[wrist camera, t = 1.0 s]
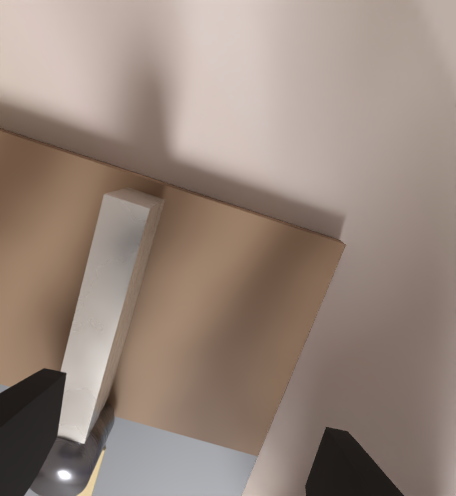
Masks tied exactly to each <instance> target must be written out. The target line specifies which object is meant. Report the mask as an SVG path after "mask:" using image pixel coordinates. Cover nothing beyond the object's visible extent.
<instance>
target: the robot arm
mask: <svg viewBox="0 0 456 496" xmlns="http://www.w3.org/2000/svg"><path fill="white" fill-rule="evenodd" d="M66 374H67V373H65V372H61V371H56V370H51V369H46V368H43V369H41V370H40V371H38V372H36V373H34V374H32V375H31V376H29V377H27V378H25V379H24V380H22V381H20V382H18V383H17V384H15V385H13V386H11V387H10V388H8V389H6V390H4V391H3V392H1V393H0V496H24V495H25V494H26V492H27V491H28V489H29V488H30V486H31V485H32V483H33V481H34V480H35V478H36V477H37V475H38V473H39V471H40V469H41V468H42V466H43V464H44V462H45V460H46V458H47V456H48V454H49V452H50V450H51V448H52V446H53V444H54V442H55V440H56V438H57V435H58V429H59V422H60V415H61V408H62V401H63V395H64V388H65V381H66ZM305 488H306V496H404V495H403V494H402V493H401V492H400V491H399V489H398V488H397V487H396V486H395V485H394V484H393V483H392V481H391V480H390V479H389V478H388V477H387V476H386V475H385V473H384V472H383V471H382V470H381V469H380V468H379V466H378V465H377V464H376V463H375V462H374V461H373V459H372V458H371V457H370V456H369V455H368V454H367V453H366V451H365V450H364V449H363V448H362V447H361V446H360V445H359V443H358V442H357V441H356V440H355V439H354V438H353V437H352V436H351V435H350V434H349V433H348V432H347V431H343V430H338V429H333V428H329V427H326V429H325V432H324V434H323V437H322V440H321V443H320V446H319V449H318V452H317V454H316V457H315V460H314V463H313V466H312V469H311V471H310V474H309V477H308V480H307V483H306V486H305Z"/></svg>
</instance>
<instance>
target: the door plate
mask: <svg viewBox="0 0 456 496" xmlns="http://www.w3.org/2000/svg"><path fill="white" fill-rule="evenodd" d="M8 388H10V387H9V386H5V385H1V384H0V393H1V392H3V391H4V390H6V389H8ZM257 457H258V456H254V455H251V454H247V453H244V452H240V451H236V450H233V449H229V448H226V447H222V446H219V445H215V444H212V443H208V442H204V441H201V440H197V439H194V438H190V437H187V436H183V435H179V434H176V433H172V432H169V431H165V430H162V429H158V428H155V427H151V426H147V425H144V424H140V423H137V422H133V421H130V420H126V419H122V418H119V417H115V421H114V425H113V428H112V430H111V432H110V434H109V437H108V439H107V441H106V443H105V446H104V448H103V450H102V452H101V455H100V457H99V459H98V462H97V464H96V466H95V468H94V471H93V473H92V475H91V477H90V480H89V482H88V484H87V486H86V488H85V489H84V490H83V491H82V492H81V493H80V494H78V495H77V496H242V493H243V491H244V488H245V486H246V484H247V481H248V479H249V476H250V474H251V472H252V469H253V467H254V464H255V462H256V459H257ZM24 496H40V495H38V494H36V493H35V492H33V491H32V490H31V489H30V488H29V489H28V491H27V492H26V494H25V495H24Z"/></svg>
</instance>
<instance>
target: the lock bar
mask: <svg viewBox="0 0 456 496" xmlns="http://www.w3.org/2000/svg"><path fill="white" fill-rule="evenodd" d="M164 202H165V199H162V198H159V197H156V196H153V195H150V194H147V193H144V192H141V191H138V190H135V189H131V188H125V189H121V190H117V191H113V192H109V193H106V194H104V196H103V200H102V205H101V209H100V213H99V217H98V221H97V225H96V229H95V233H94V237H93V241H92V245H91V249H90V253H89V257H88V262H87V266H86V270H85V274H84V278H83V282H82V286H81V290H80V294H79V298H78V302H77V306H76V310H75V314H74V318H73V323H72V327H71V331H70V335H69V339H68V343H67V347H66V351H65V355H64V359H63V363H62V367H61V372H65V373H67V374H66V381H65V388H64V395H63V401H62V408H61V415H60V422H59V429H58V435H57V438H56V440H55V442H54V444H53V446H52V448H51V450H50V452H49V454H48V456H47V458H46V460H45V462H44V464H43V466H42V468H41V469H40V471H39V473H38V475H37V477H36V478H35V480H34V481H33V483H32V485H31V486H30V489H31V490H32V491H33V492H35V493H36V494H38V495H40V496H77V495H78V494H80V493H81V492H82V491H83V490H84V489H85V488H86V486H87V484H88V482H89V480H90V477H91V475H92V473H93V471H94V468H95V466H96V464H97V462H98V459H99V457H100V455H101V452H102V450H103V448H104V446H105V443H106V441H107V439H108V437H109V434H110V432H111V430H112V428H113V425H114V421H115V415H114V411H113V408H112V407H111V405H110V404H109V402H108V401H107V399H108V397H109V394H110V390H111V387H112V383H113V380H114V377H115V373H116V370H117V366H118V363H119V359H120V356H121V352H122V349H123V345H124V342H125V338H126V335H127V331H128V328H129V324H130V321H131V317H132V314H133V310H134V307H135V303H136V300H137V296H138V293H139V289H140V286H141V282H142V279H143V275H144V272H145V268H146V265H147V261H148V258H149V254H150V251H151V247H152V244H153V240H154V237H155V233H156V230H157V226H158V223H159V219H160V216H161V212H162V209H163V205H164Z"/></svg>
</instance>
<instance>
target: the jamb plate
mask: <svg viewBox="0 0 456 496" xmlns="http://www.w3.org/2000/svg"><path fill="white" fill-rule="evenodd" d="M125 188H131V189H135V190H138V191H141V192H144V193H147V194H150V195H153V196H156V197H159V198H162V199H165V202H164V205H163V209H162V212H161V216H160V219H159V223H158V226H157V230H156V233H155V237H154V240H153V244H152V247H151V251H150V254H149V258H148V261H147V265H146V268H145V272H144V275H143V279H142V282H141V286H140V289H139V293H138V296H137V300H136V303H135V307H134V310H133V314H132V317H131V321H130V324H129V328H128V331H127V335H126V338H125V342H124V345H123V349H122V352H121V356H120V359H119V363H118V366H117V370H116V373H115V377H114V380H113V383H112V387H111V390H110V394H109V397H108V399H107V401H108V402H109V404H110V405H111V407H112V408H113V411H114V415H115V417H119V418H122V419H126V420H130V421H133V422H137V423H140V424H144V425H147V426H151V427H155V428H158V429H162V430H165V431H169V432H172V433H176V434H179V435H183V436H187V437H190V438H194V439H197V440H201V441H204V442H208V443H212V444H215V445H219V446H222V447H226V448H229V449H233V450H236V451H240V452H244V453H247V454H251V455H254V456H258V455H259V452H260V450H261V447H262V445H263V443H264V440H265V438H266V435H267V433H268V431H269V428H270V426H271V423H272V421H273V419H274V416H275V414H276V411H277V409H278V407H279V404H280V402H281V399H282V397H283V395H284V392H285V390H286V387H287V385H288V383H289V380H290V378H291V375H292V373H293V371H294V368H295V366H296V363H297V361H298V359H299V356H300V354H301V351H302V349H303V347H304V344H305V342H306V339H307V337H308V335H309V332H310V330H311V327H312V325H313V323H314V320H315V318H316V315H317V313H318V311H319V308H320V306H321V303H322V301H323V299H324V296H325V294H326V291H327V289H328V287H329V284H330V282H331V279H332V277H333V274H334V272H335V270H336V267H337V265H338V262H339V260H340V258H341V255H342V253H343V250H344V248H345V246H346V244H344V243H343V242H341V241H340V240H338V239H335V238H332V237H329V236H326V235H323V234H320V233H317V232H314V231H311V230H308V229H305V228H302V227H298V226H295V225H292V224H289V223H286V222H283V221H280V220H277V219H274V218H271V217H268V216H265V215H262V214H259V213H256V212H253V211H250V210H247V209H244V208H241V207H238V206H235V205H232V204H229V203H226V202H223V201H220V200H217V199H213V198H210V197H207V196H204V195H201V194H198V193H195V192H192V191H189V190H186V189H183V188H180V187H177V186H174V185H171V184H168V183H165V182H162V181H159V180H156V179H153V178H150V177H147V176H144V175H141V174H138V173H135V172H131V171H128V170H125V169H122V168H119V167H116V166H113V165H110V164H107V163H104V162H101V161H98V160H95V159H92V158H89V157H86V156H83V155H80V154H77V153H74V152H71V151H68V150H65V149H62V148H59V147H56V146H53V145H50V144H46V143H43V142H40V141H37V140H34V139H31V138H28V137H25V136H22V135H19V134H16V133H13V132H10V131H7V130H4V129H1V128H0V384H1V385H5V386H9V387H11V386H13V385H15V384H17V383H18V382H20V381H22V380H24V379H25V378H27V377H29V376H31V375H32V374H34V373H36V372H38V371H40V370H41V369H43V368H46V369H51V370H56V371H61V367H62V363H63V359H64V355H65V351H66V347H67V343H68V339H69V335H70V331H71V327H72V323H73V318H74V314H75V310H76V306H77V302H78V298H79V294H80V290H81V286H82V282H83V278H84V274H85V270H86V266H87V262H88V257H89V253H90V249H91V245H92V241H93V237H94V233H95V229H96V225H97V221H98V217H99V213H100V209H101V205H102V200H103V196H104V194H106V193H109V192H113V191H117V190H121V189H125Z"/></svg>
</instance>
